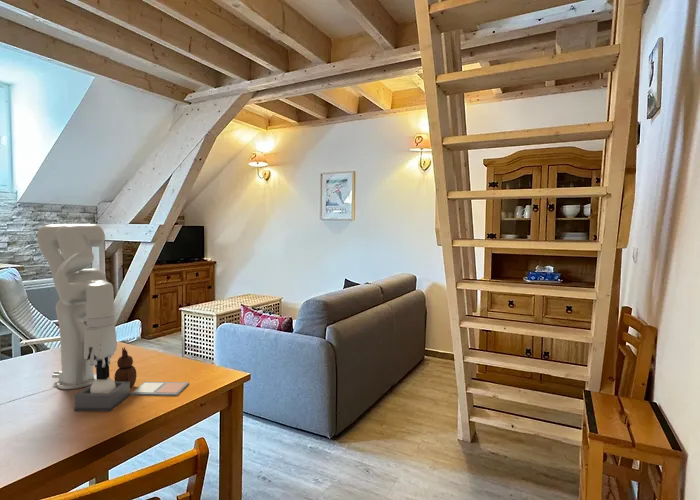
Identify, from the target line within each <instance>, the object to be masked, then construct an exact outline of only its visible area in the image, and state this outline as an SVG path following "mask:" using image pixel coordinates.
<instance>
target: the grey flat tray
mask: <svg viewBox="0 0 700 500" xmlns="http://www.w3.org/2000/svg"><path fill="white" fill-rule="evenodd" d="M188 385H190V382H187V381H185V382H184V381H183V382H182V381H178V382H177V381H171V382H170V381H144V382H143V383H141V384H140V385H138V386H137V387H136V388H134V390H132V391H130V396H143V397H144V396H147V397H149V396H153V397H154V396H155V397H160V396H161V397H163V396H165V397H178V395H180V394H181V393H182V392H183V391H184V390H185V389H186V388H187V387H188Z"/></svg>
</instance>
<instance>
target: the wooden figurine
mask: <svg viewBox="0 0 700 500" xmlns="http://www.w3.org/2000/svg"><path fill="white" fill-rule="evenodd" d="M128 353H129V352H128V350H127V349H126V347H122V348H121V356H120V357H119V358H118V359H117V361H116V362H117V367H118V368H117V369H116V371H115V373H114V381H130V389H131V388H133V387H134V386H135V383H136V381H137V369H136V367H135V366H134V365H133V364H134V359H133V357H132V356H131V355H129V354H128Z"/></svg>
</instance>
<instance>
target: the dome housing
mask: <svg viewBox="0 0 700 500" xmlns="http://www.w3.org/2000/svg"><path fill="white" fill-rule="evenodd" d="M113 381H114V382H115V385H116V388H115V389H114V390H112V391H111V392H109V393H90V388H91V386H92V384H91V385H89V386H86V387H84V389H82V390H80V391H79V392H77V393H76V394H74V395H73V399H74V401H73V402H74V412H111V411H113V410H114V409H116V408H117V407H118V406H120V404H122V403H123V402H124V401H126V400H127V399H128V398H129V397H131V395H130V393H131V390H130V389H131V388H130V381H115V380H113Z"/></svg>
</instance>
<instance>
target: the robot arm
mask: <svg viewBox="0 0 700 500" xmlns="http://www.w3.org/2000/svg"><path fill="white" fill-rule="evenodd" d="M36 240H37V244H38V247H39V250H40V252H41V254H42V255H43V257H44V258H45V260H46V262H47V264H48V265H49V269H50V273H51V277H52V280H53V284H54V287H55V291H56V292H57V295H58V298H59V300H58V301H57V302H56V304H55V313H56V317H57V322H58V327H59V338H60V339H59V340H60V361H61V362H60V363H61V370H58V369H57V370H54V371H53V373H52V376H51V378H52V379H58V381H57V382H56V388H58V389H61V390H75V389H76V390H77V389H81V388H86V387H88V386H90V385H91V384H93V383H94V382H95V381H96V380H97V379H107V378H110V364H111V358H112V357H113V356H114V355H115V352H116V351H117V347H118V346H117V345H118V343H117V341H118V340H117V332H116V326H115V324H116V322H115V320H116V319H115V304H114V303H115V300H114V299H115V298H114V295H115V294H114V293H115V292H114V286H113V284H112V282H108V280H107V277H106V275H105V272H104V271H103V270H101V269H100V268H93V267H92V268H87V267H89V266H90V265H91V264H92V263H93V261H94V258H95V255H94V253H93V251H92V248H99V247H102V246H103V245H104V244H105V240H106V234H105V232H104V230H103V228H102V227H101V225H98V224H96V223H72V224H71V223H55V224H54V223H53V224H47V225H46V224H45V225H44V226H43V225H42V226H41V227H39V228H38V230H37V233H36ZM84 322H86V324H85V323H84ZM94 368H95V369H94Z"/></svg>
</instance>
